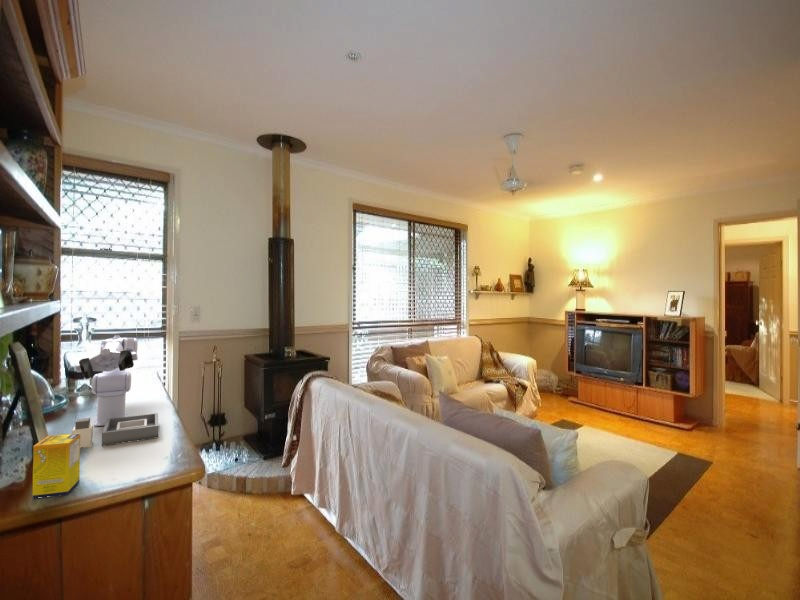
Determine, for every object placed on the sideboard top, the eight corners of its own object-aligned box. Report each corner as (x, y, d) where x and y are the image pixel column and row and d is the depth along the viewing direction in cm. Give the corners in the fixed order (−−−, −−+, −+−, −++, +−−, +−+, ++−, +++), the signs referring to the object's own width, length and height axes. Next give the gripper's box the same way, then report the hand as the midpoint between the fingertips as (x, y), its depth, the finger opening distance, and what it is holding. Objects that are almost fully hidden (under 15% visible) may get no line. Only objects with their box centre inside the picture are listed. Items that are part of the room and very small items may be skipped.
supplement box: (45, 486, 83) (47, 435, 83) (80, 482, 85) (81, 432, 85) (30, 500, 77) (32, 445, 77) (67, 495, 79) (69, 442, 79)
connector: (73, 444, 106) (74, 418, 106) (92, 441, 108) (93, 416, 108) (71, 449, 102) (72, 423, 102) (90, 446, 105) (91, 420, 105)
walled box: (106, 430, 117) (107, 418, 117) (157, 423, 124) (157, 412, 124) (101, 445, 105) (102, 433, 105) (158, 437, 112) (158, 425, 112)
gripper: (77, 349, 114) (66, 364, 103) (135, 338, 121) (131, 351, 110) (83, 371, 116) (73, 388, 105) (140, 359, 123) (137, 374, 111)
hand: (103, 371), depth 107 cm, fingers open, 7 cm apart
